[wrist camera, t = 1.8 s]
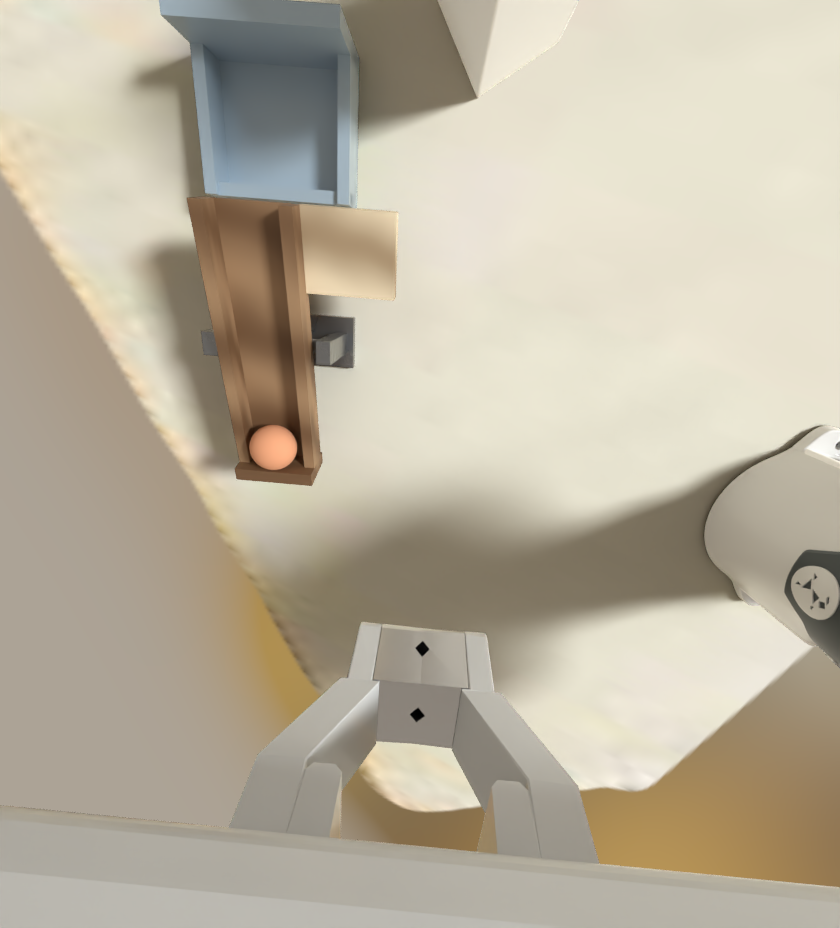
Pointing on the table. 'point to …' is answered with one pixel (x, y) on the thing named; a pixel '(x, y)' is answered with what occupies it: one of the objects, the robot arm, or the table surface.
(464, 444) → the table surface
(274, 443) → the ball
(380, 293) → the lever
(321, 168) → the light blue open box
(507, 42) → the milk
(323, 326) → the pivot stand
